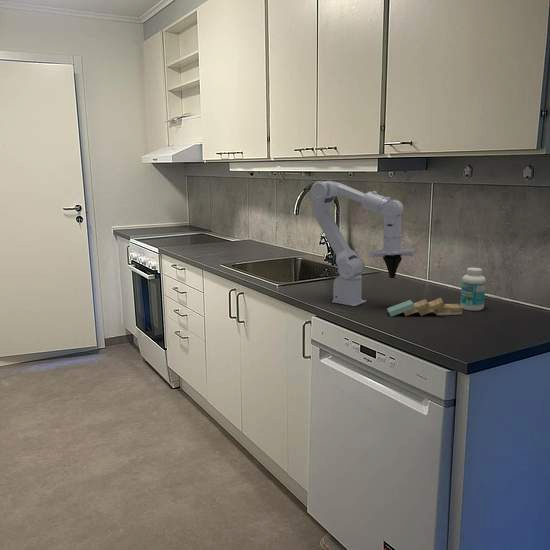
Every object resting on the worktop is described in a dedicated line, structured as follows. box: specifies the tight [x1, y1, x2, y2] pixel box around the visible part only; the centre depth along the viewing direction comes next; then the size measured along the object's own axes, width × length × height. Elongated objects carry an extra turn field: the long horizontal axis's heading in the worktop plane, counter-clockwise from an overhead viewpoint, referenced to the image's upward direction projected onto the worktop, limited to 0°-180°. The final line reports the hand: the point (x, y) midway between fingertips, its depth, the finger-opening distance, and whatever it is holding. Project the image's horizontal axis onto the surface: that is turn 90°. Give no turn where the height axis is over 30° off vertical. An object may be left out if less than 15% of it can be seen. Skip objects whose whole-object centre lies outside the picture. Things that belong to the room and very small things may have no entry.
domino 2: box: [403, 298, 430, 317], centre depth 170 cm, size 2×5×8 cm
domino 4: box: [435, 303, 464, 313], centre depth 171 cm, size 2×5×8 cm
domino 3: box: [418, 297, 445, 317], centre depth 170 cm, size 2×5×8 cm
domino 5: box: [431, 311, 463, 316], centre depth 173 cm, size 2×5×8 cm
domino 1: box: [386, 299, 415, 317], centre depth 171 cm, size 2×5×8 cm
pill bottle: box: [459, 267, 487, 312], centre depth 176 cm, size 8×7×14 cm
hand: (391, 277), depth 177 cm, fingers closed
